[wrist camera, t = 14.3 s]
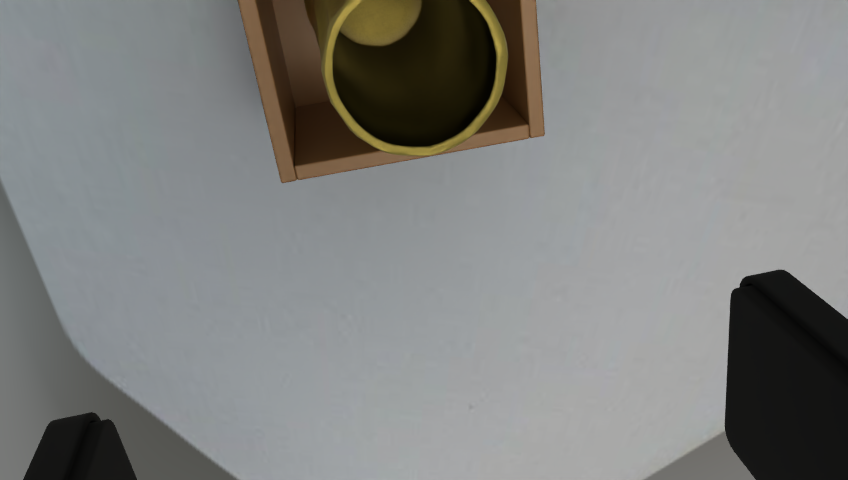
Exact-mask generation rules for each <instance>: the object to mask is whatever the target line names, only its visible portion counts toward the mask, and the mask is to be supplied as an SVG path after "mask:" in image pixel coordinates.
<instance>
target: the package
mask: <svg viewBox="0 0 848 480" xmlns="http://www.w3.org/2000/svg"><path fill="white" fill-rule="evenodd" d="M486 1H487V3H488V4H489V5H490V7H491V8H492V10H493V12H494V14H495V15H496V17H497V19H498V21H499V23H500V25H501V27H502V30H503V32H504V35H505V38H506V42H507V49H508V62H507V70H506V77H505V83H504V87H503V92H502V95H501V97H500V99H499V102H498V104H497V105H496V107H495V108H494V110H493V112H492V113H491V114H490V116H489V117H488V118H487V120H486V121H485V122H484V124H483V125H482V126H481V127H480V128H479V130H478V131H477V132H476V133H475V134H473V135H472V136H471V137H470V138H469V139H467V140H466V141H464V142H463V143H461V144H460V145H458V146H456V147H454V148H452V149H450V150H447V151H445V152H442V153H439V154H436V155H440V154H446V153H451V152H457V151H462V150H468V149H473V148H479V147H484V146H490V145H495V144H501V143H506V142H512V141H518V140H523V139H528V138H529V137H530V138H534V137H540V136H544V134H545V131H544V116H543V101H542V86H541V71H540V56H539V41H538V26H537V11H536V0H486ZM238 3H239V8H240V12H241V16H242V20H243V24H244V29H245V33H246V37H247V41H248V45H249V50H250V54H251V58H252V62H253V66H254V71H255V75H256V79H257V83H258V87H259V91H260V96H261V100H262V104H263V108H264V112H265V117H266V121H267V125H268V129H269V133H270V138H271V142H272V146H273V150H274V154H275V159H276V163H277V167H278V171H279V175H280V179H281V182H282V183H286V182H291V181H296V180H297V179H298V180H302V179H307V178H313V177H318V176H324V175H329V174H335V173H340V172H346V171H351V170H357V169H362V168H368V167H374V166H379V165H385V164H390V163H396V162H401V161H407V160H412V159H418V158H423V157H429V156H403V155H394V154H389V153H386V152H383V151H381V150H379V149H376V148H374V147H373V146H371V145H370V144H368V143H367V142H365V141H363V140H362V139H360V138H359V137H357V136H356V135H355V134H354V133H353V132H352V131H351V130H350V129H349V128H348V126H347V125H346V124H345V122H344V121H343V119H342V118H341V116H340V115H339V113H338V112H337V111H336V109H335V108H334V107H333V105H332V104H331V102H330V99H329V96H328V93H327V89H326V86H325V83H324V79H323V76H322V72H321V57H320V50H319V46H318V42H317V38H316V34H315V31H314V29H313V27H312V26H311V24H310V22H309V19H308V16H307V12H306V8H305V4H304V0H238ZM432 156H434V155H432Z"/></svg>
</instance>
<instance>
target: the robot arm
mask: <svg viewBox="0 0 848 480" xmlns="http://www.w3.org/2000/svg"><path fill="white" fill-rule="evenodd" d="M725 431H726V436H727V439H728V441H729V443H730V446H731V447H732V449H733V450H734V452H735V453H736V454H737V456H738V457H739V458H740V460H741V461H742V462H743V464H744V465H745V466H746V467H747V469H748V470H749V471H750V473H751V474H752V475H753V476H754V478H755V479H756V480H848V319H847V318H845V317H844V316H843V315H842V314H840V313H839V312H838V311H836V310H835V309H834V308H833V307H831V306H830V305H829V304H828V303H826V302H825V301H824V300H823V299H821V298H820V297H819V296H818V295H816V294H815V293H814V292H812V291H811V290H810V289H809V288H807V287H806V286H805V285H804V284H802V283H801V282H800V281H799V280H797V279H796V278H795V277H794V276H792V275H791V274H790V273H788V272H787V271H785V270H775V271H771V272H766V273H761V274H756V275H751V276H747V277H745V278H743V279H742V281H741V283H740V288H736V289H734V290H733V291H732V293H731V300H730V322H729V344H728V366H727V388H726V410H725ZM23 480H137V478H136V476H135V473H134V471H133V469H132V466H131V464H130V461H129V459H128V456H127V454H126V452H125V449H124V447H123V444H122V442H121V439H120V437H119V434H118V432H117V430H116V427H115V425H114V423H113V422H112V421H111V420H109V419H107V420H102V421H101V420H100V418H99V417H98V416H97V414H95V413H92V412H91V413H86V414H82V415H77V416H72V417H67V418H62V419H58V420H53V421H51V422H50V423H49V424H48V426H47V428H46V430H45V432H44V434H43V437H42V439H41V441H40V443H39V446H38V448H37V450H36V452H35V454H34V457H33V459H32V461H31V463H30V466H29V468H28V470H27V472H26V475H25V477H24V479H23Z"/></svg>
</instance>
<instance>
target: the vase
mask: <svg viewBox="0 0 848 480" xmlns="http://www.w3.org/2000/svg"><path fill="white" fill-rule="evenodd" d="M304 4H305V8H306V12H307V16H308V19H309V22H310V24H311V26H312V27H313V29H314V31H315V34H316V38H317V42H318V46H319V50H320V57H321V72H322V76H323V79H324V83H325V86H326V89H327V93H328V96H329V99H330V102H331V104H332V105H333V107H334V108H335V109H336V111H337V112H338V113H339V115H340V116H341V118H342V119H343V121H344V122H345V124H346V125H347V126H348V128H349V129H350V130H351V131H352V132H353V133H354V134H355V135H356V136H357V137H359V138H360V139H362V140H363V141H365V142H367V143H368V144H370V145H371V146H373V147H374V148H376V149H379V150H381V151H383V152H386V153H389V154H394V155H403V156H432V155H436V154H439V153H442V152H445V151H447V150H450V149H452V148H454V147H456V146H458V145H460V144H461V143H463V142H464V141H466V140H467V139H469V138H470V137H471V136H472V135H473V134H475V133H476V132H477V131H478V130H479V128H480V127H481V126H482V125H483V124H484V122H485V121H486V120H487V118H488V117H489V116H490V114H491V113H492V112H493V110H494V108H495V107H496V105H497V104H498V102H499V99H500V97H501V95H502V92H503V87H504V83H505V77H506V70H507V62H508V49H507V42H506V38H505V35H504V32H503V30H502V27H501V25H500V23H499V21H498V19H497V17H496V15H495V14H494V12H493V10H492V8H491V7H490V5H489V4H488V3H487V1H486V0H304Z"/></svg>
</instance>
